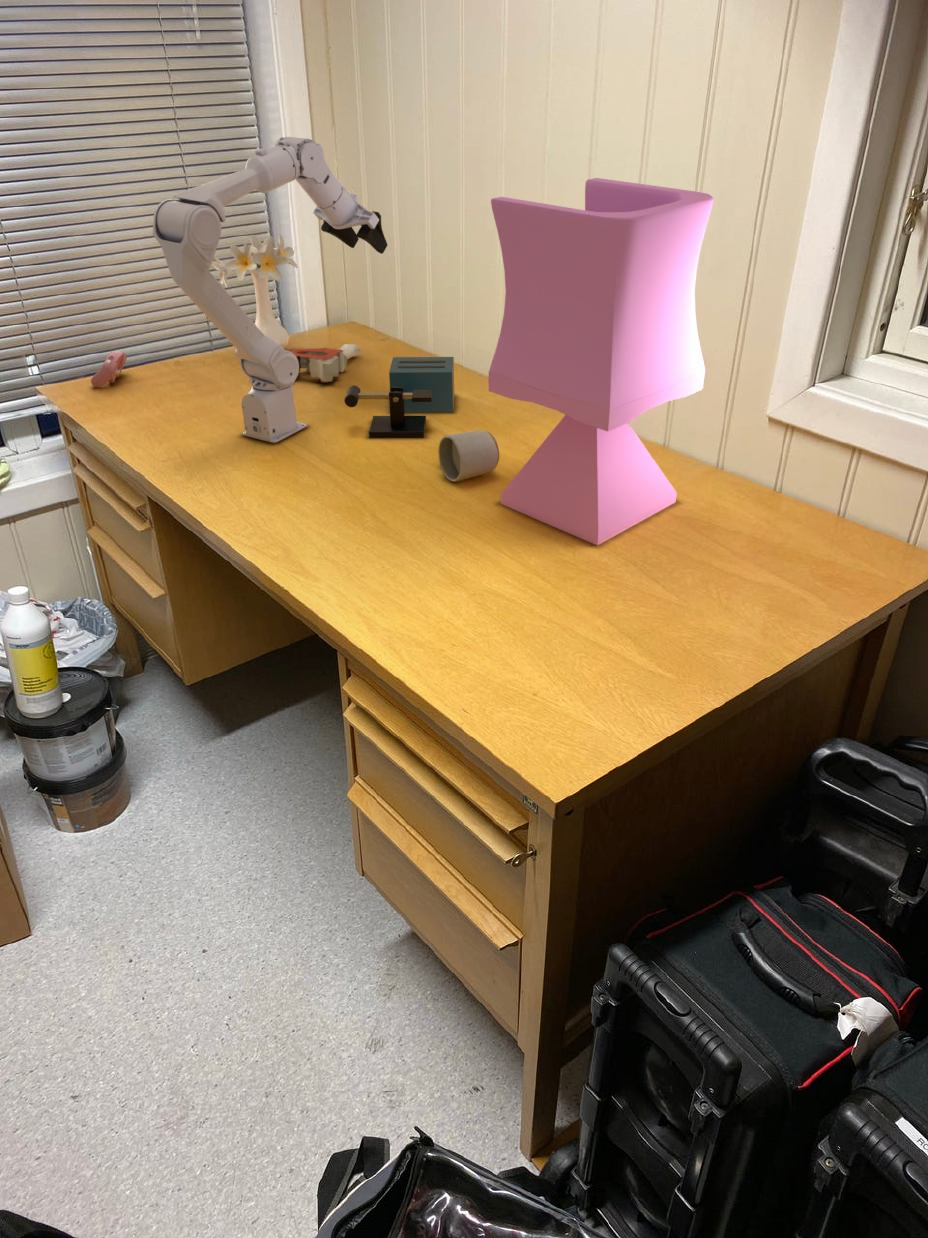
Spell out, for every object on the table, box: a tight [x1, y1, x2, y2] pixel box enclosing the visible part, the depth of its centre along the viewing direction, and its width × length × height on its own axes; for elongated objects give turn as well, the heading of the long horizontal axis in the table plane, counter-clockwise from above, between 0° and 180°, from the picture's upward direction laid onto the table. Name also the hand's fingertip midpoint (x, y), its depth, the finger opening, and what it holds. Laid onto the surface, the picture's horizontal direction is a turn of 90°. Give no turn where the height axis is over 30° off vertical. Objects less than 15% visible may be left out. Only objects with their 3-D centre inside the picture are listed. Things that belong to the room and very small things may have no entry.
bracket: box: [368, 386, 427, 439], centre depth 175 cm, size 10×8×8 cm
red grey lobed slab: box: [285, 343, 361, 384], centre depth 203 cm, size 18×5×20 cm
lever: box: [344, 384, 432, 408], centre depth 173 cm, size 16×5×2 cm, turn 89°
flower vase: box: [211, 234, 299, 350], centre depth 207 cm, size 13×18×25 cm
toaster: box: [388, 356, 455, 414], centre depth 185 cm, size 12×9×8 cm
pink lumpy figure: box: [90, 349, 128, 388], centre depth 200 cm, size 10×5×7 cm, turn 179°
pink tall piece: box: [488, 177, 714, 546], centre depth 138 cm, size 22×22×45 cm
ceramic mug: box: [437, 430, 500, 483], centre depth 159 cm, size 11×8×8 cm
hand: (369, 246), depth 179 cm, fingers open, 7 cm apart
